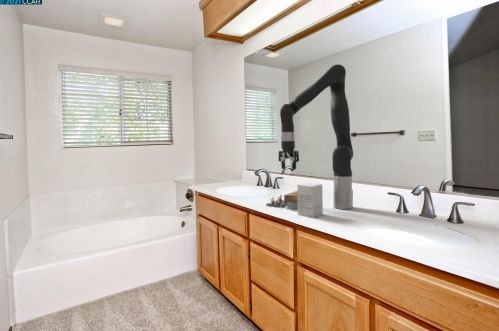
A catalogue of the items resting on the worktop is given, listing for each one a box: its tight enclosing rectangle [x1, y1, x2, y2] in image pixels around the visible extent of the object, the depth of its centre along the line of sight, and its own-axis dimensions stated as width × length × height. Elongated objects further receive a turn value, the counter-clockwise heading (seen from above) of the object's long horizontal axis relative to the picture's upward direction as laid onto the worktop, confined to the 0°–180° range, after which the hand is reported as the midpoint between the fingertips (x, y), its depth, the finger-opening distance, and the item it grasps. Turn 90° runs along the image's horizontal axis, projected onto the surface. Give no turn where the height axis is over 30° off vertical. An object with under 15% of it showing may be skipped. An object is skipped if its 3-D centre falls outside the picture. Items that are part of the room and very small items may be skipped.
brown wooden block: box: [283, 190, 298, 203], centre depth 151 cm, size 14×6×4 cm, turn 144°
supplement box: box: [297, 182, 324, 218], centre depth 134 cm, size 9×9×15 cm
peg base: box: [265, 194, 287, 208], centre depth 158 cm, size 9×14×4 cm, turn 145°
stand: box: [286, 202, 298, 211], centre depth 151 cm, size 14×3×4 cm, turn 144°
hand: (288, 169), depth 155 cm, fingers open, 8 cm apart
